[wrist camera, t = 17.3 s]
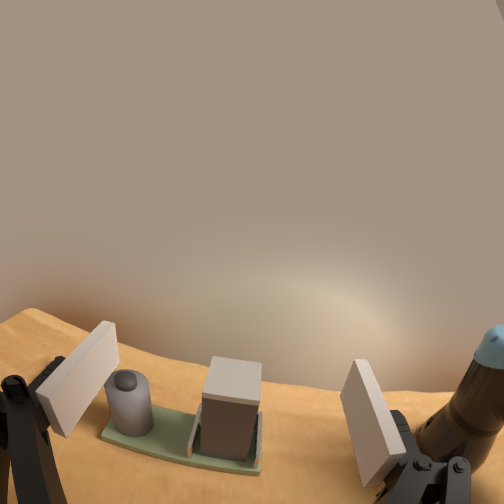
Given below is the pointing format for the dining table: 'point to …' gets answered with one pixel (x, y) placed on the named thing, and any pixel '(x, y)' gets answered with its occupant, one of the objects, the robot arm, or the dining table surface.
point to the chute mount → (197, 426)
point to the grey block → (229, 408)
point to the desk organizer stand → (159, 427)
